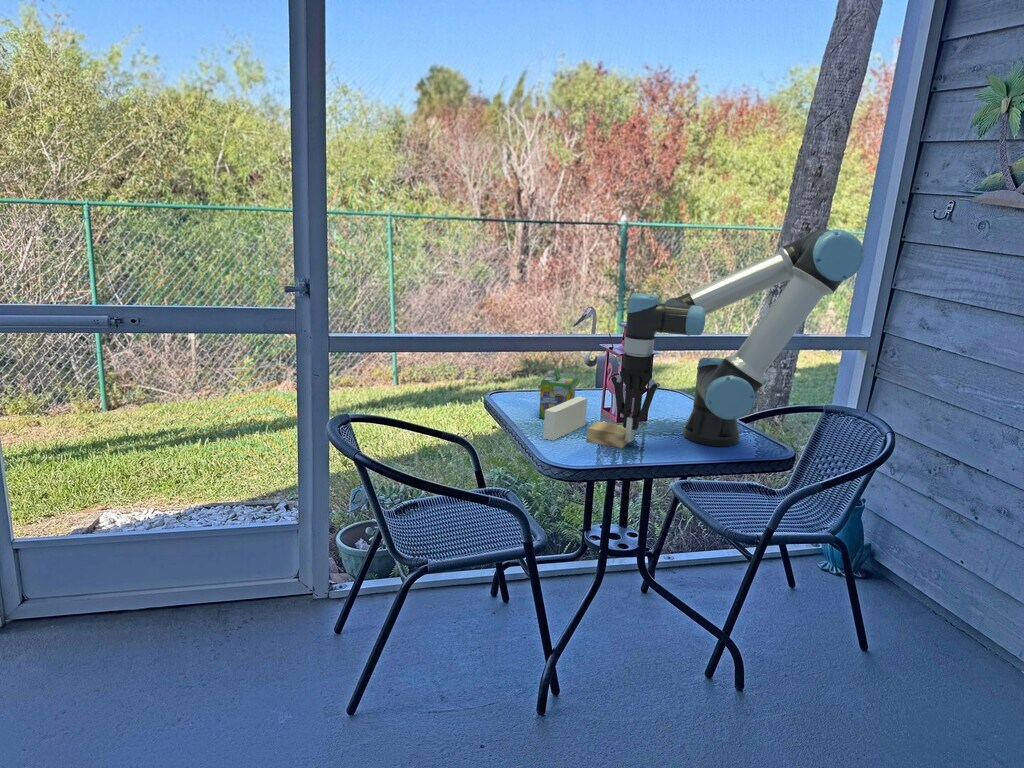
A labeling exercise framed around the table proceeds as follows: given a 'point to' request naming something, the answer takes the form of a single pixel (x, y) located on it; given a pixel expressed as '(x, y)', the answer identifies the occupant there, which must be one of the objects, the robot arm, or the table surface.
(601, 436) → the oak block
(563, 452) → the table surface
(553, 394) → the chalk box
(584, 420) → the white board
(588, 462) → the table surface
